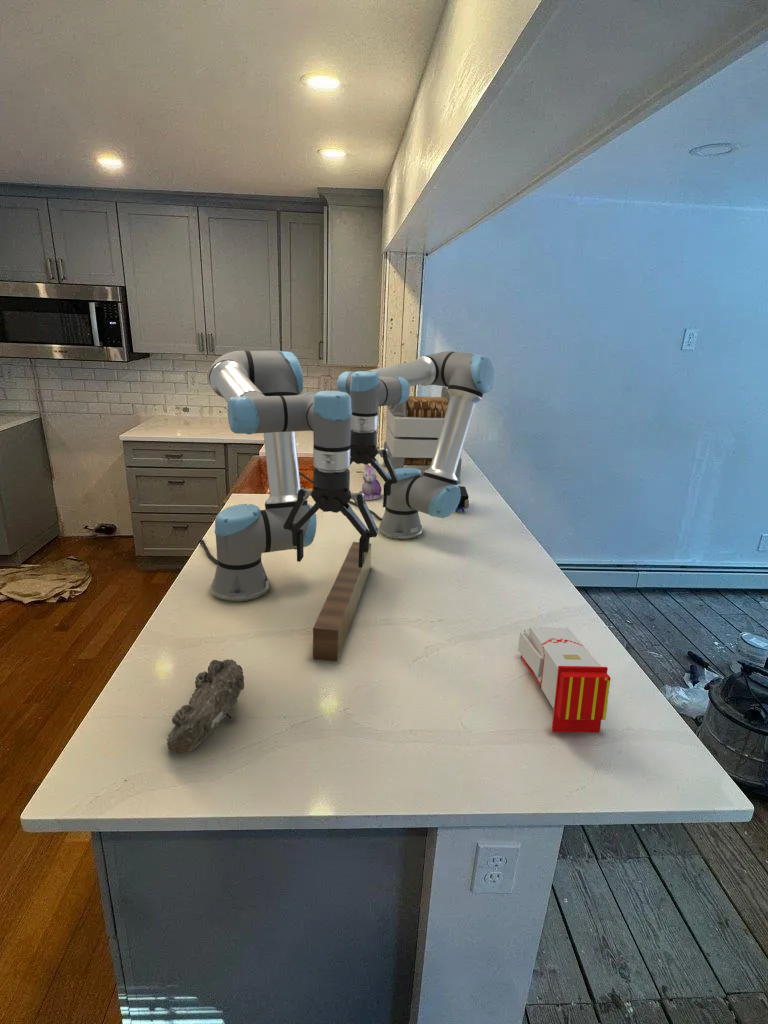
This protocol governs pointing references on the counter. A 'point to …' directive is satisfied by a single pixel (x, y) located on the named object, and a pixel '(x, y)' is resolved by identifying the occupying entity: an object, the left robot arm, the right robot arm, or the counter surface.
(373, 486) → the figurine
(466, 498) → the figurine character
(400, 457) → the white wooden crate
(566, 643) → the toy
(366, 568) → the bar
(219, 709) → the fossil
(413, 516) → the right robot arm
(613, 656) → the counter surface
